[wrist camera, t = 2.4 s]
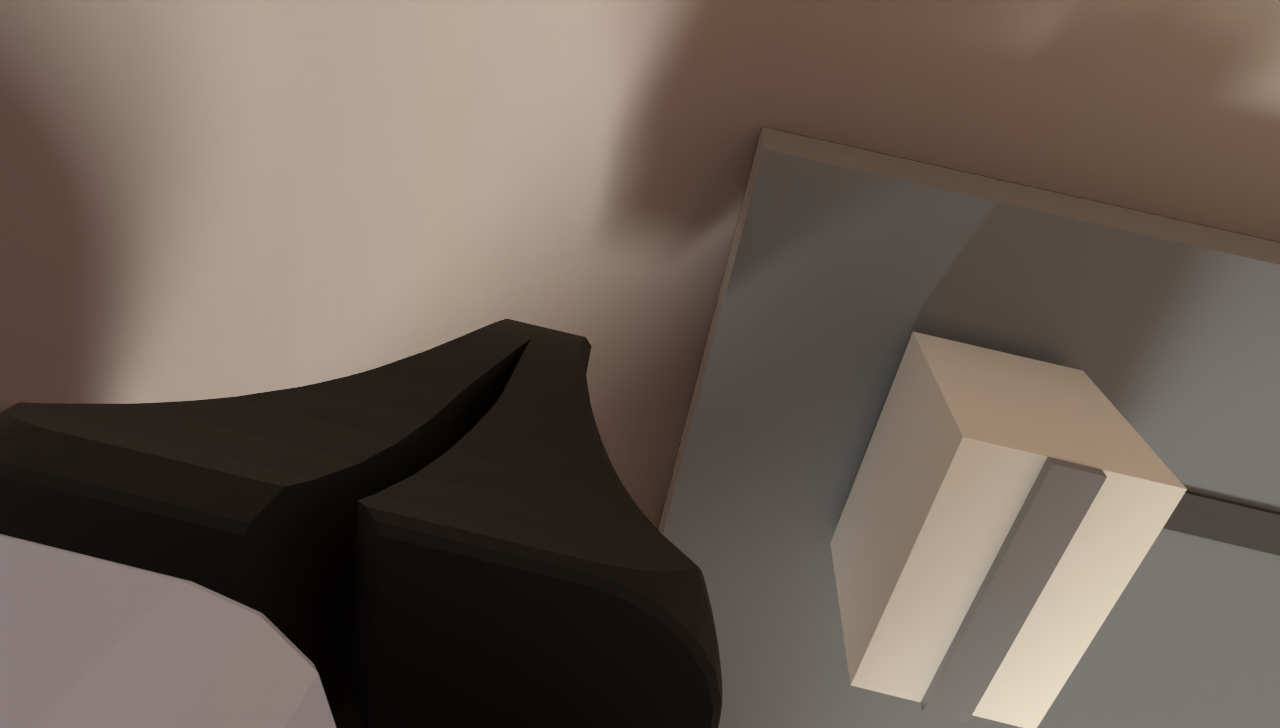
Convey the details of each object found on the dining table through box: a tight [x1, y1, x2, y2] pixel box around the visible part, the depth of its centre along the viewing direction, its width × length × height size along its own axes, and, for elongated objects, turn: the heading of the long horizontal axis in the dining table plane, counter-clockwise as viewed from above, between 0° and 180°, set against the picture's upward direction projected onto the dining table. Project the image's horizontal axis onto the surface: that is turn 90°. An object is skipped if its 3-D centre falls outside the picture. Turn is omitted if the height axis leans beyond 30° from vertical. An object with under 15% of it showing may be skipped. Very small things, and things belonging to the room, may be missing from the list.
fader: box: [830, 332, 1187, 728], centre depth 11 cm, size 2×4×3 cm, turn 169°
